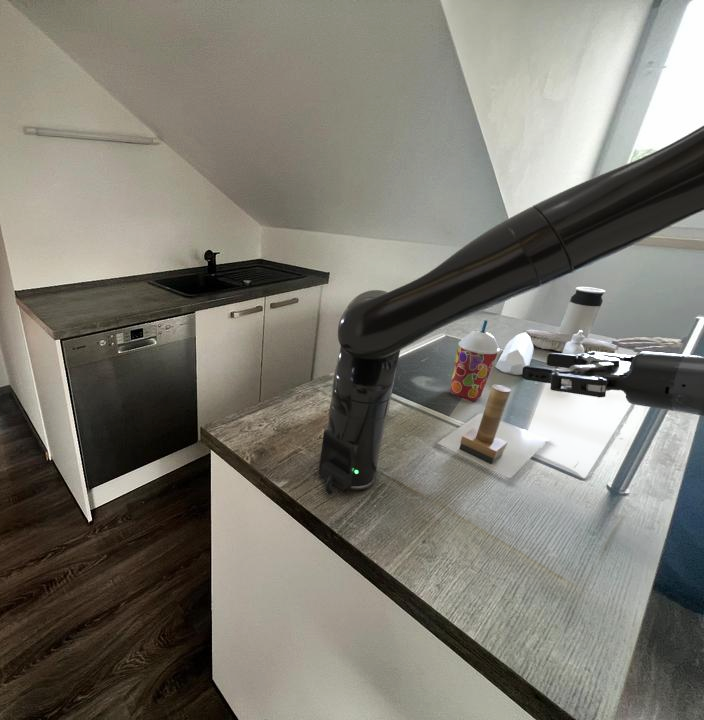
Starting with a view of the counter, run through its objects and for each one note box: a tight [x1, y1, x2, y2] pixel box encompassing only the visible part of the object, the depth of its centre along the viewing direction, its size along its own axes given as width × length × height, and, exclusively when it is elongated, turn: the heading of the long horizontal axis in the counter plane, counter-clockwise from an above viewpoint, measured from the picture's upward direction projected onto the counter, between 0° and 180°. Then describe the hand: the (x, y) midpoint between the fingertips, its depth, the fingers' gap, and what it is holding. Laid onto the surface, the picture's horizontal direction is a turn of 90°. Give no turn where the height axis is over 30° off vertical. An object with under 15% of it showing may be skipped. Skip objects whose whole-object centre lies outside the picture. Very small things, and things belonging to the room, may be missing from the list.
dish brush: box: [459, 384, 512, 464], centre depth 72 cm, size 5×6×14 cm
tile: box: [436, 412, 550, 480], centre depth 79 cm, size 20×13×1 cm, turn 126°
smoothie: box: [449, 319, 500, 402], centre depth 94 cm, size 8×8×20 cm
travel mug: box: [557, 286, 607, 338], centre depth 132 cm, size 8×8×18 cm
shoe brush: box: [522, 329, 619, 354], centre depth 125 cm, size 24×8×5 cm, turn 52°
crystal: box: [494, 332, 535, 376], centre depth 117 cm, size 7×7×24 cm
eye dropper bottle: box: [557, 331, 584, 369], centre depth 110 cm, size 4×6×12 cm
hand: (535, 365), depth 64 cm, fingers open, 8 cm apart
